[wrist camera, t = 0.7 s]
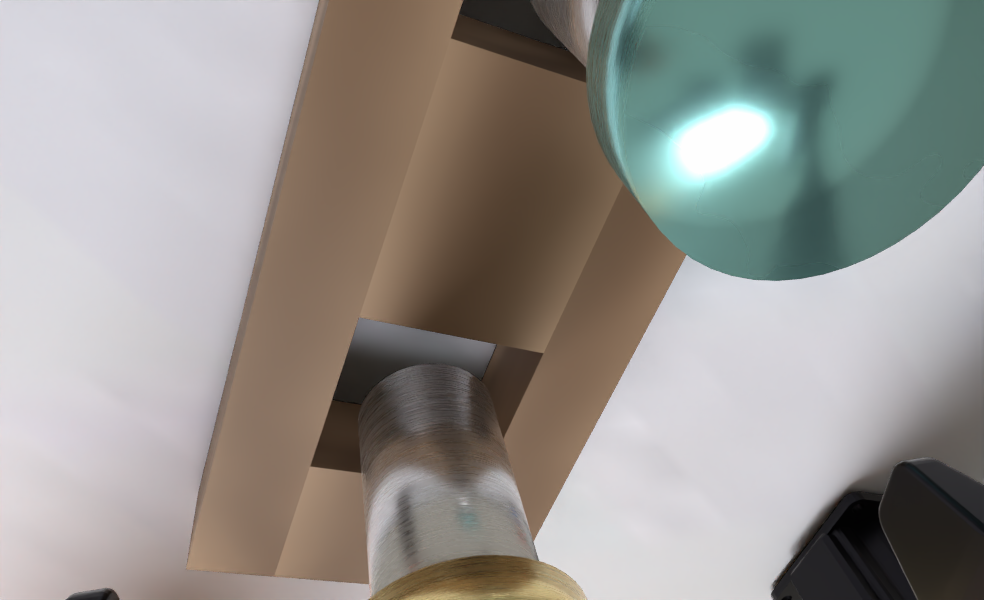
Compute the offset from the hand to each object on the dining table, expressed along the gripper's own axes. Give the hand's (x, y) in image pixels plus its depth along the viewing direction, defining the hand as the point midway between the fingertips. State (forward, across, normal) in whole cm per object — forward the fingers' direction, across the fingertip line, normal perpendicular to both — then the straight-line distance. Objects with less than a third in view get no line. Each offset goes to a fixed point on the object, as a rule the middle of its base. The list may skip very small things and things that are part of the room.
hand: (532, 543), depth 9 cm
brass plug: (+10, 0, +7) cm, 12 cm away
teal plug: (+10, -4, -4) cm, 12 cm away
